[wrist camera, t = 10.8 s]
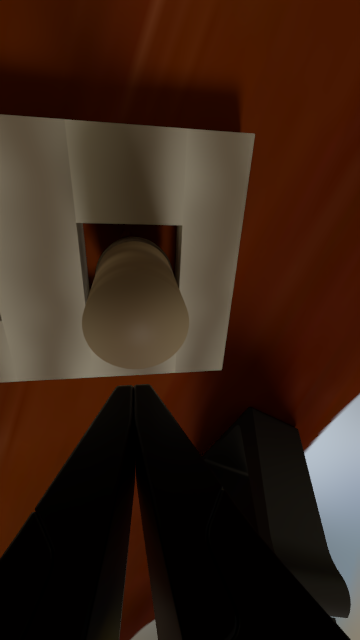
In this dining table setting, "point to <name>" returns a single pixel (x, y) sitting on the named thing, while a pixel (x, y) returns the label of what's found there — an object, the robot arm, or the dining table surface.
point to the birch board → (112, 208)
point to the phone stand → (279, 501)
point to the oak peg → (134, 306)
